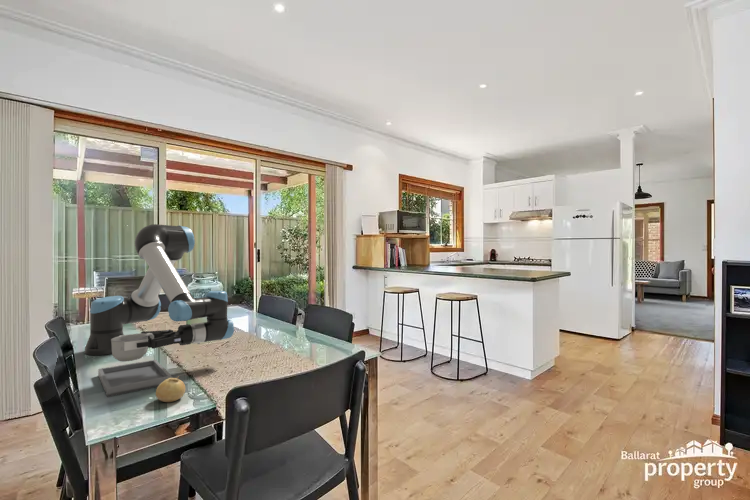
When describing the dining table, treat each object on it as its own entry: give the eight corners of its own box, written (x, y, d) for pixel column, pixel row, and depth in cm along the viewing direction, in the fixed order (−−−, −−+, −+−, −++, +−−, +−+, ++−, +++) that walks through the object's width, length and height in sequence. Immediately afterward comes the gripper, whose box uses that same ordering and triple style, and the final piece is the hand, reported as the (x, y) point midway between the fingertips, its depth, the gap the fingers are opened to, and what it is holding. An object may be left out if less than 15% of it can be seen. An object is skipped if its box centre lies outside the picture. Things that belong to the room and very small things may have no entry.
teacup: (119, 366, 121) (119, 341, 121) (104, 360, 127) (105, 336, 127) (163, 356, 132) (163, 333, 132) (148, 351, 138) (148, 329, 138)
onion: (154, 407, 108) (154, 382, 108) (156, 397, 116) (156, 374, 116) (185, 402, 112) (185, 379, 112) (185, 393, 119) (185, 371, 119)
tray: (98, 375, 132) (98, 368, 132) (155, 366, 145) (155, 359, 145) (107, 396, 115) (107, 388, 115) (172, 383, 127) (172, 376, 127)
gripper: (200, 350, 133) (127, 362, 118) (182, 338, 150) (116, 347, 135) (200, 329, 133) (127, 338, 118) (182, 319, 150) (116, 326, 135)
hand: (121, 343), depth 127 cm, fingers closed on teacup, 11 cm apart
